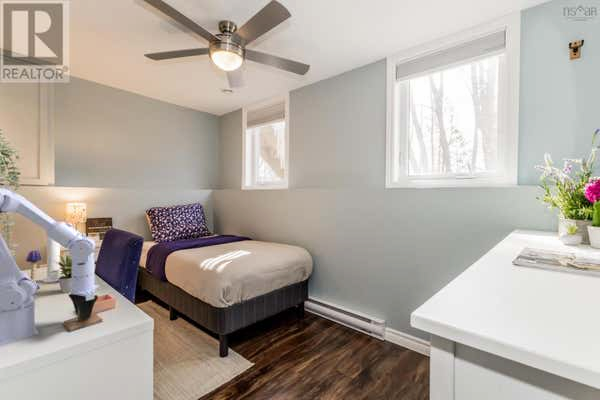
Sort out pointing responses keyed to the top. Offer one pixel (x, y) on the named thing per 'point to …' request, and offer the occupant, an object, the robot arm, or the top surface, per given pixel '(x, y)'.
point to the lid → (82, 322)
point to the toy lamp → (33, 263)
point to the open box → (104, 303)
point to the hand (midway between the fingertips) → (83, 316)
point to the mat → (77, 329)
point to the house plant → (67, 270)
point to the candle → (52, 261)
